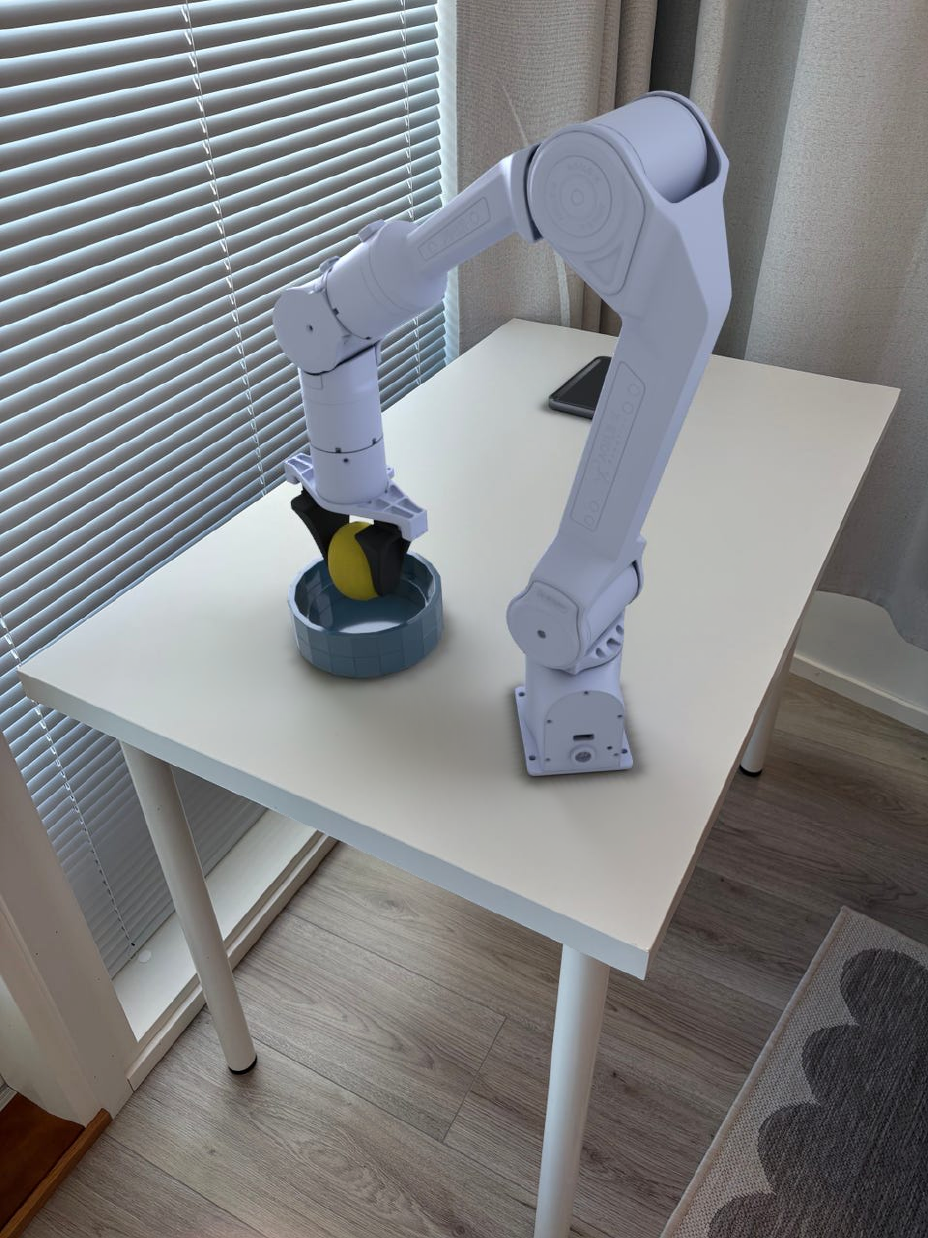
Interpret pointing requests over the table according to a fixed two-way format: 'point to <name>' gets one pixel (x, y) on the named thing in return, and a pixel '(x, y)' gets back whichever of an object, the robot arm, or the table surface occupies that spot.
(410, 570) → the bowl
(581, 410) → the phone
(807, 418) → the table surface
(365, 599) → the lemon
